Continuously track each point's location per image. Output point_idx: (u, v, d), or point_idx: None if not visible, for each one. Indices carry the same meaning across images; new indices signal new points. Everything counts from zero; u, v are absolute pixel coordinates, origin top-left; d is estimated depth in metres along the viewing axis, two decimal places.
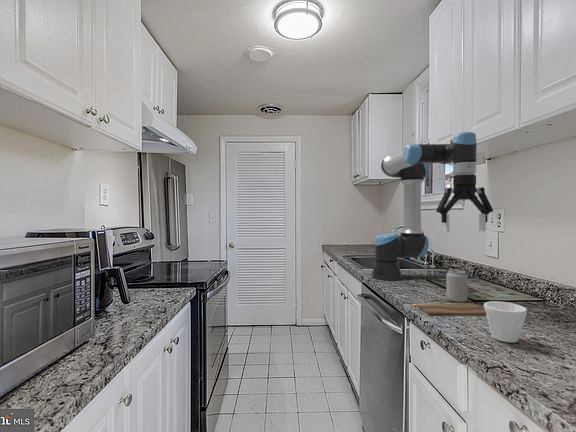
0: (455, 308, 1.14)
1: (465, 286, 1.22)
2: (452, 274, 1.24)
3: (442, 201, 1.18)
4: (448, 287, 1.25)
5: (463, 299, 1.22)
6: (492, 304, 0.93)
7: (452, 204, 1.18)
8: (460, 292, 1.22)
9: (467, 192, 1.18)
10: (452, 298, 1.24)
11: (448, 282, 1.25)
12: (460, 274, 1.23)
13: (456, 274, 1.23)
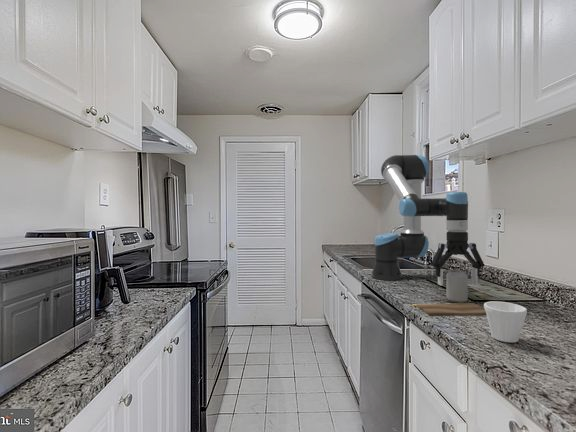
0: (455, 308, 1.14)
1: (465, 286, 1.22)
2: (452, 274, 1.24)
3: (436, 256, 1.25)
4: (448, 287, 1.25)
5: (463, 299, 1.22)
6: (492, 304, 0.93)
7: (445, 259, 1.24)
8: (460, 292, 1.22)
9: (460, 248, 1.24)
10: (452, 298, 1.24)
11: (448, 282, 1.25)
12: (460, 274, 1.23)
13: (456, 274, 1.23)
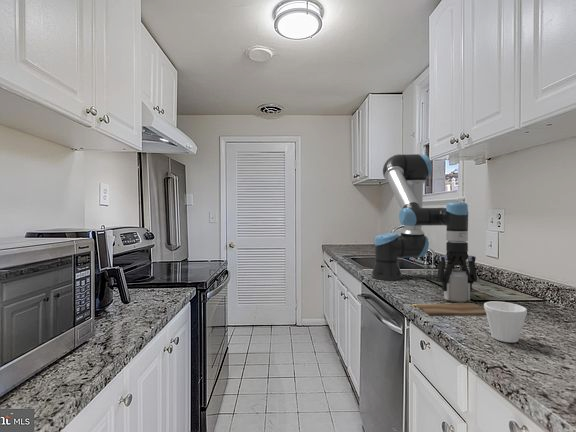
0: (455, 308, 1.14)
1: (465, 286, 1.22)
2: (452, 274, 1.24)
3: (440, 270, 1.25)
4: None
5: (463, 299, 1.22)
6: (492, 304, 0.93)
7: (449, 272, 1.24)
8: (460, 292, 1.22)
9: (459, 258, 1.24)
10: (452, 298, 1.24)
11: (448, 282, 1.25)
12: (460, 274, 1.23)
13: (456, 274, 1.23)
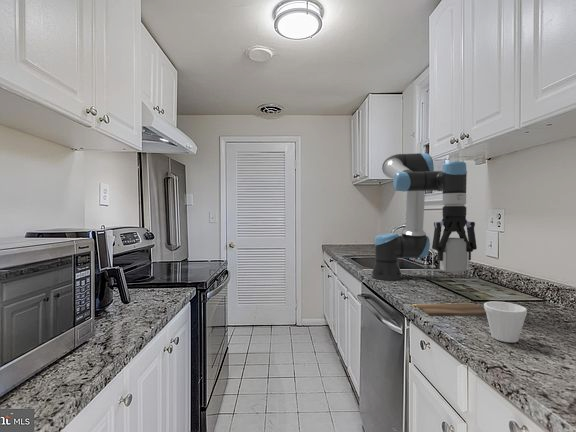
0: (455, 308, 1.14)
1: (463, 254, 1.09)
2: (449, 241, 1.11)
3: (435, 237, 1.12)
4: None
5: (461, 269, 1.09)
6: (492, 304, 0.93)
7: (446, 239, 1.11)
8: (458, 261, 1.09)
9: (457, 223, 1.11)
10: (449, 268, 1.11)
11: (444, 251, 1.12)
12: (458, 241, 1.10)
13: (453, 241, 1.10)
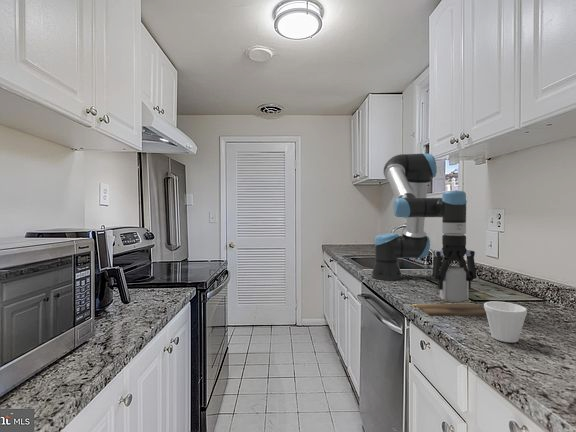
0: (455, 308, 1.14)
1: (463, 284, 1.10)
2: (449, 270, 1.11)
3: (435, 266, 1.13)
4: None
5: (461, 298, 1.09)
6: (492, 304, 0.93)
7: (446, 269, 1.12)
8: (458, 291, 1.09)
9: (457, 252, 1.12)
10: (449, 297, 1.11)
11: (444, 279, 1.12)
12: (458, 270, 1.10)
13: (453, 270, 1.10)
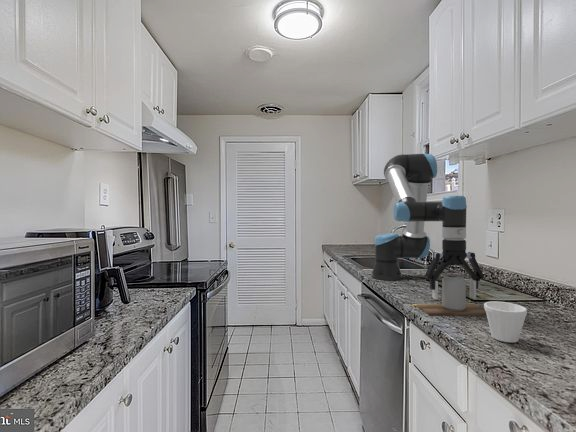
0: None
1: (463, 293, 1.10)
2: (448, 279, 1.11)
3: (430, 267, 1.13)
4: (444, 294, 1.13)
5: (460, 307, 1.10)
6: (492, 304, 0.93)
7: (441, 270, 1.12)
8: (457, 300, 1.10)
9: (457, 258, 1.12)
10: (448, 306, 1.11)
11: (444, 288, 1.13)
12: (457, 279, 1.10)
13: (453, 279, 1.10)
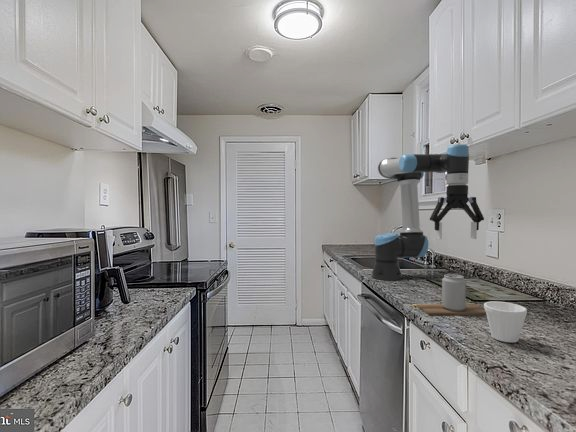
0: None
1: (463, 293, 1.10)
2: (448, 279, 1.11)
3: (435, 210, 1.25)
4: (444, 294, 1.13)
5: (460, 307, 1.10)
6: (492, 304, 0.93)
7: (445, 213, 1.24)
8: (457, 300, 1.10)
9: (459, 201, 1.24)
10: (448, 306, 1.11)
11: (444, 288, 1.13)
12: (457, 279, 1.10)
13: (453, 279, 1.10)
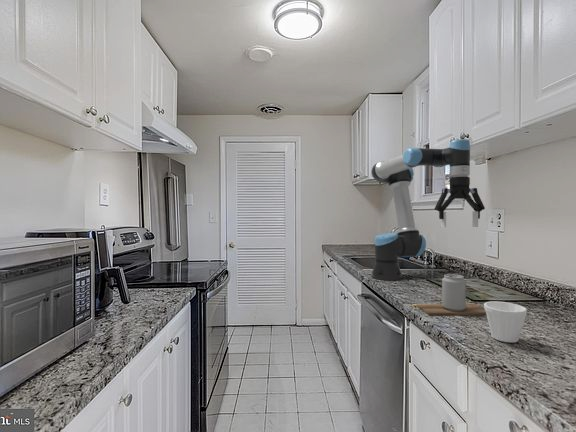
0: None
1: (463, 293, 1.10)
2: (448, 279, 1.11)
3: (440, 200, 1.34)
4: (444, 294, 1.13)
5: (460, 307, 1.10)
6: (492, 304, 0.93)
7: (448, 203, 1.33)
8: (457, 300, 1.10)
9: (462, 192, 1.33)
10: (448, 306, 1.11)
11: (444, 288, 1.13)
12: (457, 279, 1.10)
13: (453, 279, 1.10)
